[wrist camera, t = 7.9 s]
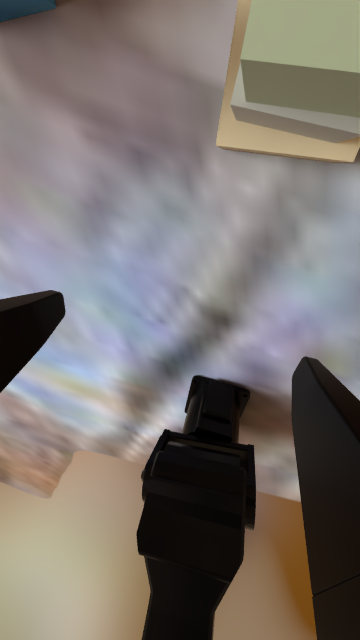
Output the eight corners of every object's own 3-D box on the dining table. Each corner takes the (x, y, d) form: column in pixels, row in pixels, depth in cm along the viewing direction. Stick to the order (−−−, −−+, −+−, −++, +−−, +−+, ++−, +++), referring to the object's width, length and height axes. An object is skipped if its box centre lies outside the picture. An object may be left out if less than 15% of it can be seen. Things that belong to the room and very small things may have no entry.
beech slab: (332, 162, 16) (353, 162, 12) (223, 149, 17) (215, 145, 13) (398, -11, 12) (454, -79, 8) (250, -14, 13) (250, -77, 9)
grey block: (334, 143, 12) (364, 135, 9) (236, 120, 13) (229, 104, 9) (407, -16, 9) (491, -115, 6) (277, -39, 10) (289, -142, 6)
